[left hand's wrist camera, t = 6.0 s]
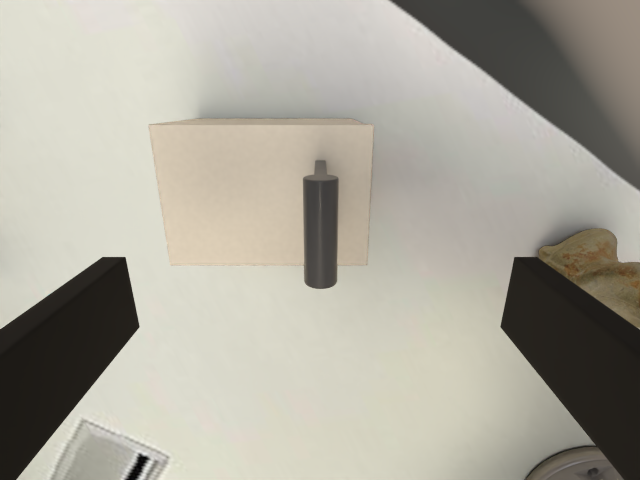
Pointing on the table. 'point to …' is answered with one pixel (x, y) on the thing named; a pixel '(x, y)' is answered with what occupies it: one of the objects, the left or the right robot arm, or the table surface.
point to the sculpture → (598, 270)
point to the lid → (266, 194)
